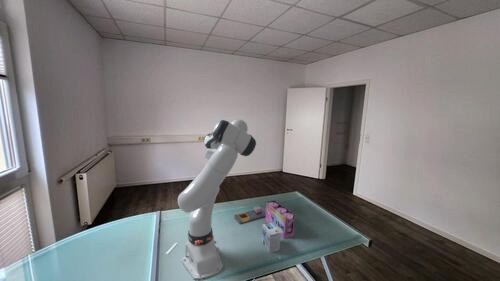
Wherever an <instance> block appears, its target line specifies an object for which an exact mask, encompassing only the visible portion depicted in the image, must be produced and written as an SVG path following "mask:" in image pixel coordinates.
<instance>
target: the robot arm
mask: <svg viewBox="0 0 500 281" xmlns="http://www.w3.org/2000/svg"><path fill="white" fill-rule="evenodd" d="M248 129H249V128H248V125H247V122H245V120H244V119H239V118H237V119H235V120H232V121H231V122H229V121H227V120H225V119H222V120H220V121H219V122H217V123H216V124H215V125H214V127H213V130H212V132H211V133H210V132H209V133H207V134H206V136H205V138H204V142H203V143H204V146H205V152H204V159H207V162H206V163H205V165H204V167H203V168H202V170H201V171H200V173H199V174H198V175H196V177H195V178H193V180H192V181H191V182H190V183H189V185H188V186H187V187H185V189H184V190H183V191H182V192H180V193H179V195H178V196H177V206H178V207H179V209H180V210H181V211H182V212H184V213H187V214H188V213H190V214H189V216H188V231H187V232H188V233H187V239H188V240H187V241H186V242H185V246H184V256H183V257H182V258H181V263H182V264H183V266H184V268H185V269H186V270H187V272H188V274H191V275H190V276H191V278H192V279H193V278H194V279H200V280H204V279H203V278H205V279H207V278H210V277H213V276H215V275H217V274H218V273H219V272H221V271H222V270H223V263H222V259H221V256H220V247H219V246H216V244H217V241H216V240H215V238H214V237H215V236H214V234H213V228H212V221H213V220H212V217H213V216H212V215H213V211H214V207H215V202H216V199H217V196H218V194H219V192H220V190H221V189H220V186H221V184H223V181H224V180H225V179H226V177H227V176H228V174H230V171H231V170H232V168H233V167H234V165H235V164H236V162H237V159H238V154H239V155H241V156H242V157H249V156H250V155H251V154H252V153H253V152H254V151H255V149H256V145H257V141H256V139H255V138H254V137H253V136H252V134H249V133H248ZM194 279H193V280H194Z"/></svg>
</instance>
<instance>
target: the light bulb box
mask: <svg viewBox="0 0 500 281" xmlns="http://www.w3.org/2000/svg"><path fill="white" fill-rule="evenodd" d="M261 227H262V231H261V242H262V244H263V246H264V247H265V248H266V250H267V252H268V253H269V254H271V253H273V252H274V253H275V252H278V251H281V237H282V236H281V232H280V231H279V230H278V229H277V227H276V226H275V225H274V224H273V223H268V222H267V223H262V226H261Z"/></svg>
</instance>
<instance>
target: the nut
mask: <svg viewBox="0 0 500 281" xmlns="http://www.w3.org/2000/svg"><path fill="white" fill-rule="evenodd" d="M261 209H262V207H261V206H259V205H256V206H254V207H253V210H254V213H255V214H256V215H257V214H260V213H261ZM262 210H263V209H262Z"/></svg>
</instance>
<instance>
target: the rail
mask: <svg viewBox="0 0 500 281" xmlns="http://www.w3.org/2000/svg"><path fill="white" fill-rule="evenodd" d="M262 218H266V211H264V210H263V209H261V213H260V214H257V215H256V214H255V213H254V209H253V210H249V211H245V212H242V213H237V214H234V215H233V219H234V220H235V221H236V223H238V225H241V224H244V223H247V222H251V221H255V220H258V219H262Z"/></svg>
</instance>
